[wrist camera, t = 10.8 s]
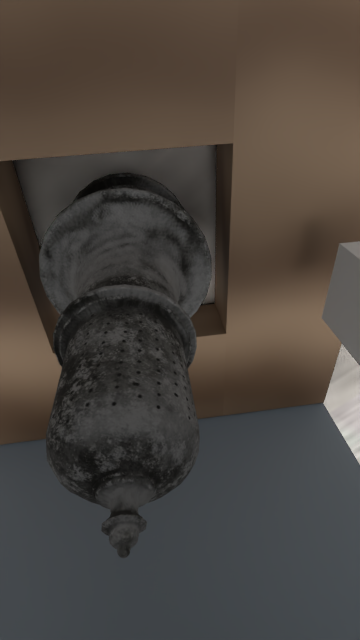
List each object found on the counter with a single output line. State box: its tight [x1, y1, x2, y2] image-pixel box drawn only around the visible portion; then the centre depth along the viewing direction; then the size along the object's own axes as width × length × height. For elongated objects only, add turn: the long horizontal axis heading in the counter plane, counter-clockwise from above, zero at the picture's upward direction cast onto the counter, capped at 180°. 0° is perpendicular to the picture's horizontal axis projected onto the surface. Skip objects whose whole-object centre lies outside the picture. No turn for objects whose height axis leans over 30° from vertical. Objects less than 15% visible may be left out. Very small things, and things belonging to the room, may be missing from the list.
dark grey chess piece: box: [39, 173, 211, 558], centre depth 10 cm, size 6×6×12 cm
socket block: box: [0, 0, 360, 445], centre depth 13 cm, size 19×19×2 cm
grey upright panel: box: [0, 403, 360, 640], centre depth 13 cm, size 4×20×18 cm, turn 93°
